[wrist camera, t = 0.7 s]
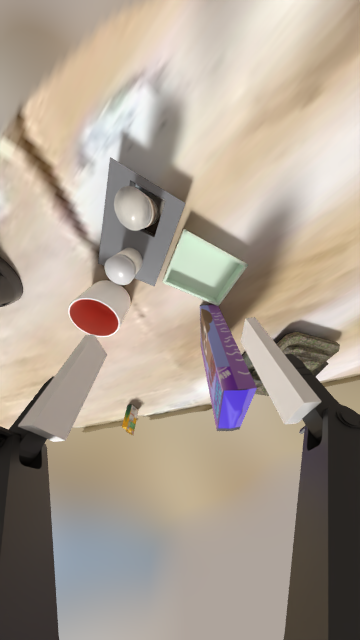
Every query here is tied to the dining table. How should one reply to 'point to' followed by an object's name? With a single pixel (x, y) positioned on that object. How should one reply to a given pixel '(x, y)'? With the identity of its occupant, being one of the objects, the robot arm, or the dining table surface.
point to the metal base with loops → (299, 354)
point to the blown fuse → (135, 208)
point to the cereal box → (224, 370)
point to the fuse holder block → (135, 232)
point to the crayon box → (130, 419)
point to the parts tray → (202, 269)
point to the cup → (100, 308)
